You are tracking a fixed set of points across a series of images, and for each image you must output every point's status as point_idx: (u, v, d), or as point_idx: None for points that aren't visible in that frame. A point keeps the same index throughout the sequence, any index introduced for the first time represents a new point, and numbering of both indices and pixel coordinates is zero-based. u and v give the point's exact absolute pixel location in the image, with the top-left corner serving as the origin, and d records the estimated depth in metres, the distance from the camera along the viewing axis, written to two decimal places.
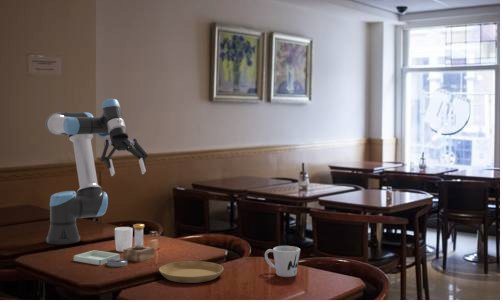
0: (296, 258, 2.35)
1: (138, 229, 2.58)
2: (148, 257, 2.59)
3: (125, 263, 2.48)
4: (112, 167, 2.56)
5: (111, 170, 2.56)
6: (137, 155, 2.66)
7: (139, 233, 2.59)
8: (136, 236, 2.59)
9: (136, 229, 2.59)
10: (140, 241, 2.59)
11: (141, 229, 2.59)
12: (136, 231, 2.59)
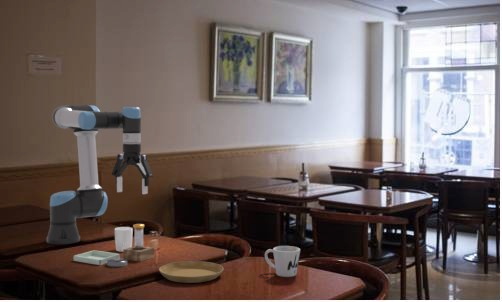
0: (296, 258, 2.35)
1: (138, 229, 2.58)
2: (148, 257, 2.59)
3: (125, 263, 2.48)
4: (117, 186, 2.69)
5: None
6: None
7: (139, 233, 2.59)
8: (136, 236, 2.59)
9: (136, 229, 2.58)
10: (140, 241, 2.59)
11: (141, 229, 2.59)
12: (136, 231, 2.59)
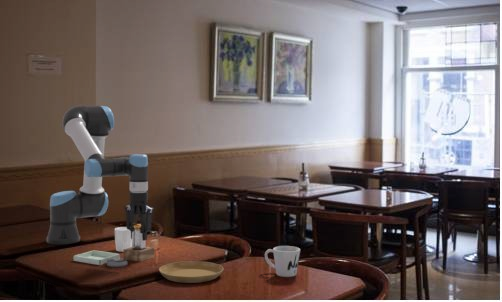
0: (296, 258, 2.35)
1: (138, 229, 2.58)
2: (148, 257, 2.59)
3: (125, 263, 2.48)
4: (132, 241, 2.60)
5: None
6: None
7: (139, 233, 2.59)
8: (136, 236, 2.59)
9: (136, 229, 2.59)
10: None
11: None
12: (136, 231, 2.59)
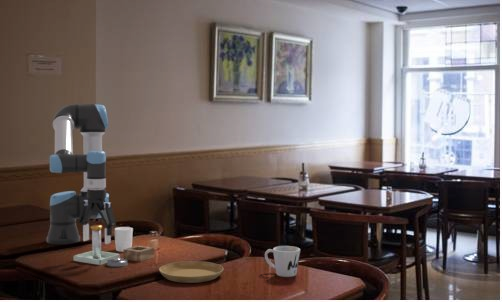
0: (296, 258, 2.35)
1: (95, 230, 2.55)
2: (148, 257, 2.59)
3: (125, 263, 2.48)
4: (83, 234, 2.58)
5: None
6: None
7: (96, 234, 2.55)
8: (93, 237, 2.55)
9: (93, 230, 2.55)
10: (97, 243, 2.55)
11: (98, 230, 2.55)
12: (93, 232, 2.55)
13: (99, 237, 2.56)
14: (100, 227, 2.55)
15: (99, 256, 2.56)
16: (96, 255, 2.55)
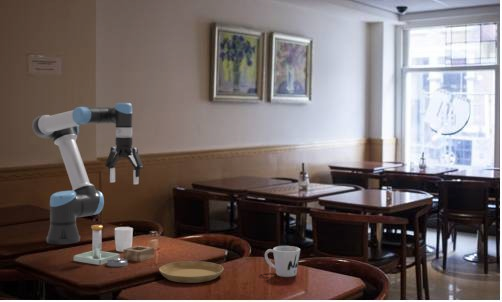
0: (296, 258, 2.35)
1: (96, 230, 2.55)
2: (148, 257, 2.59)
3: (125, 263, 2.48)
4: (110, 177, 2.87)
5: None
6: None
7: (97, 234, 2.55)
8: (94, 237, 2.55)
9: (94, 230, 2.55)
10: (98, 243, 2.55)
11: (99, 230, 2.55)
12: (94, 232, 2.55)
13: (99, 237, 2.56)
14: (101, 227, 2.55)
15: (99, 256, 2.56)
16: (96, 255, 2.55)
